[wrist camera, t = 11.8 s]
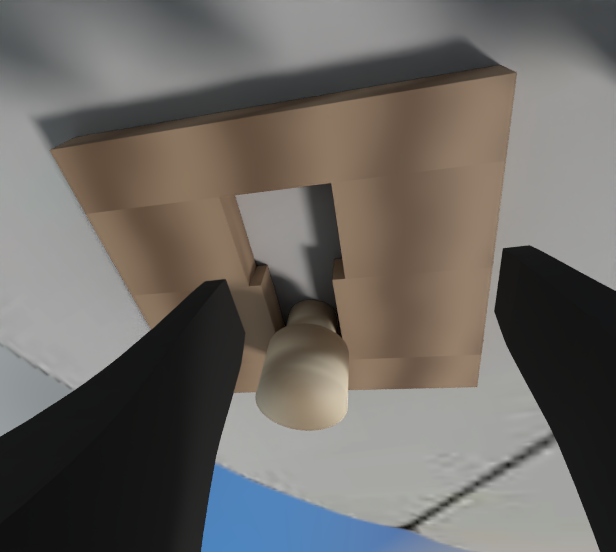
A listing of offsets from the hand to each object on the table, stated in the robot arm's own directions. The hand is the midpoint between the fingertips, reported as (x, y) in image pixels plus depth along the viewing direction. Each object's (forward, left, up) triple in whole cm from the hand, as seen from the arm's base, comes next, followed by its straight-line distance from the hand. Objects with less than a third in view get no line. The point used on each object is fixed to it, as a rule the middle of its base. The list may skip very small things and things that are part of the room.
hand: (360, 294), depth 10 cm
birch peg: (+4, +10, -10) cm, 15 cm away
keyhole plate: (+4, +6, -10) cm, 12 cm away
